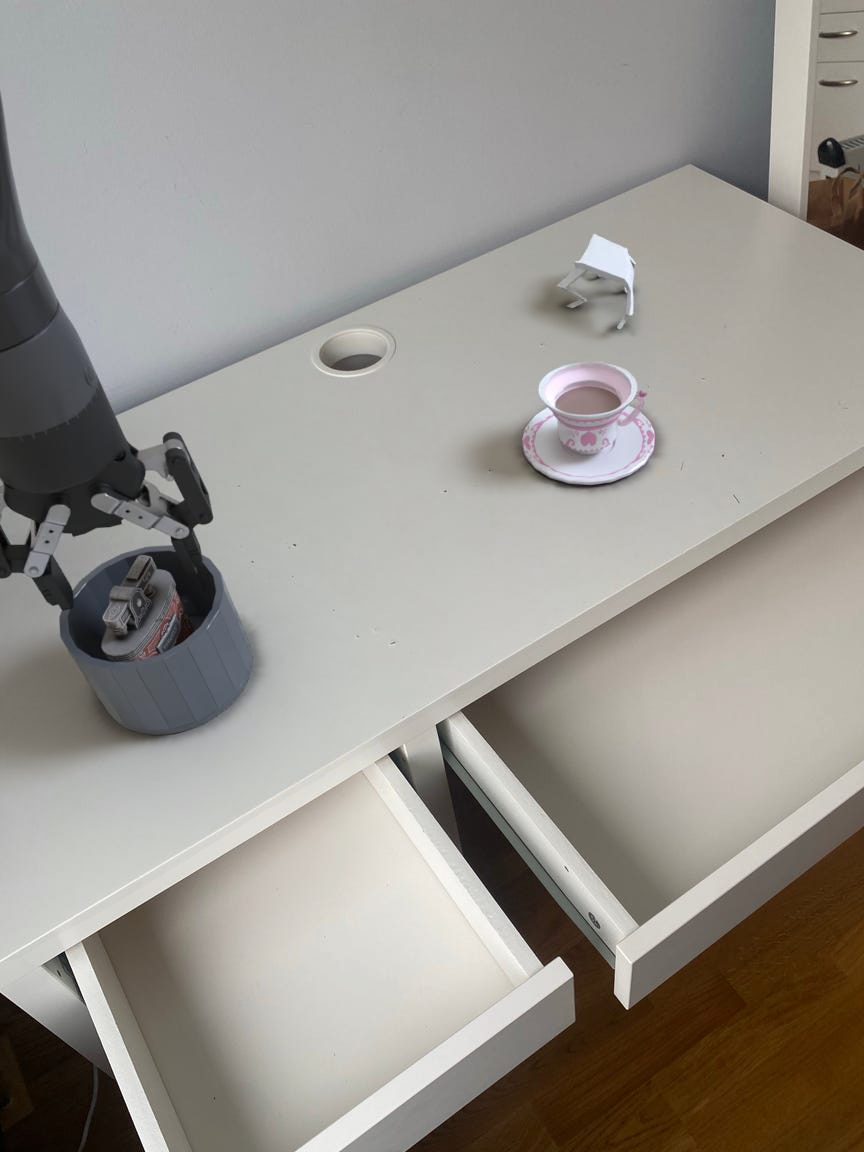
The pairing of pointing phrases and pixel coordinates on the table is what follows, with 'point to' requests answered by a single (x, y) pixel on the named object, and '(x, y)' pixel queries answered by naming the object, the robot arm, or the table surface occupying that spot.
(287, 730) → the table surface
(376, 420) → the table surface
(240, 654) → the blue-grey round bin
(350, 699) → the table surface
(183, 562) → the robot arm
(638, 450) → the teacup
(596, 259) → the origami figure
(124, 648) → the lighter
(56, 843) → the table surface
